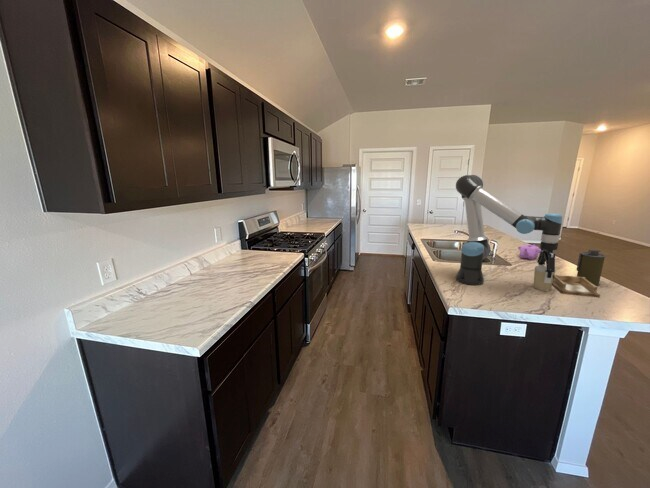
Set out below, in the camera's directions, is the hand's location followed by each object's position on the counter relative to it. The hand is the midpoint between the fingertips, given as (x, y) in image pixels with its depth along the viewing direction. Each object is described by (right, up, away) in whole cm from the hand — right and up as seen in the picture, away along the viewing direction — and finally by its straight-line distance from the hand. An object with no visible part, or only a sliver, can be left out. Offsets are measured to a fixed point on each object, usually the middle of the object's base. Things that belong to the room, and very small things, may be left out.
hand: (543, 279), depth 156 cm
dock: (+15, -5, -2) cm, 16 cm away
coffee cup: (0, -5, +1) cm, 6 cm away
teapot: (+34, +9, +58) cm, 68 cm away
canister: (+32, -3, +8) cm, 33 cm away
